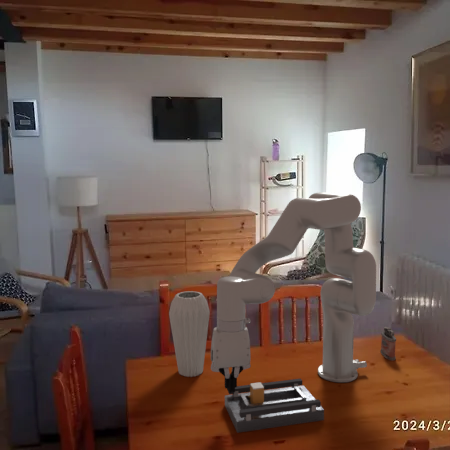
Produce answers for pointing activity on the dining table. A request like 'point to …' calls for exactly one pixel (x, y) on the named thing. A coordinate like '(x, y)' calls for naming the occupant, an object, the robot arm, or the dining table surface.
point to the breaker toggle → (256, 393)
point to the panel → (272, 399)
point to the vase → (189, 331)
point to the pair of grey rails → (275, 408)
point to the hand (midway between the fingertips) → (230, 390)
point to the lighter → (388, 344)
